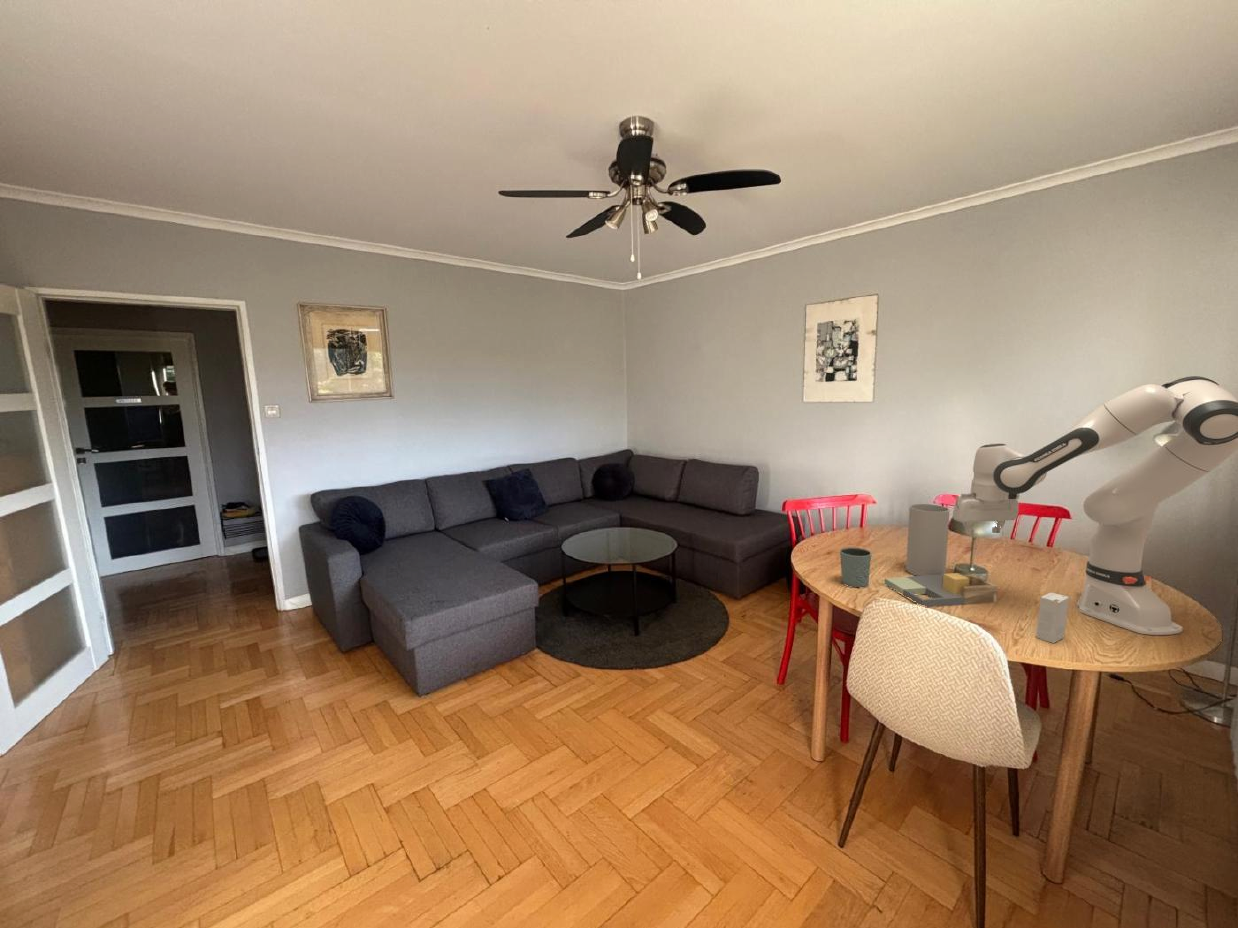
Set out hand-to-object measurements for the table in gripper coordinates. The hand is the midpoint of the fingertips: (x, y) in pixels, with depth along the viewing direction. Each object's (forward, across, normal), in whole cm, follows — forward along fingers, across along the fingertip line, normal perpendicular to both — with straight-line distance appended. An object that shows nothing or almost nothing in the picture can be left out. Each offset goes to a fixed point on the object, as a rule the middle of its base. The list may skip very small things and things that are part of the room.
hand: (982, 533), depth 163 cm
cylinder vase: (+21, -4, +19) cm, 29 cm away
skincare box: (+20, -4, -31) cm, 37 cm away
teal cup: (+22, -35, +14) cm, 43 cm away
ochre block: (+18, -10, -2) cm, 21 cm away
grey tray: (+21, -12, +2) cm, 24 cm away
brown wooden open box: (+21, -5, -3) cm, 21 cm away
